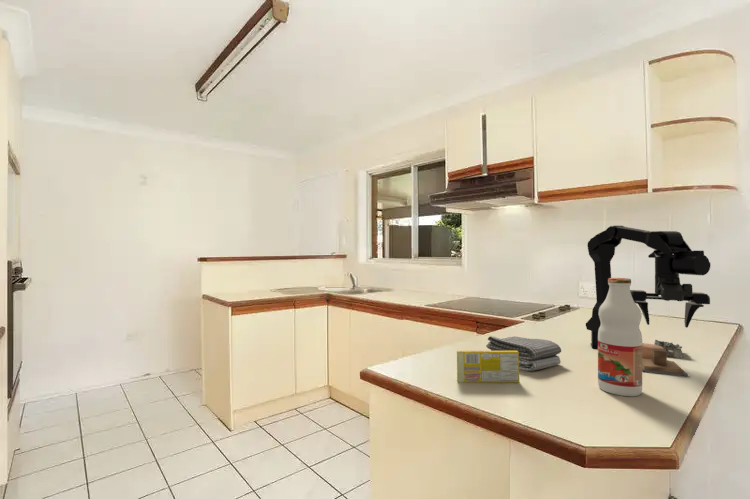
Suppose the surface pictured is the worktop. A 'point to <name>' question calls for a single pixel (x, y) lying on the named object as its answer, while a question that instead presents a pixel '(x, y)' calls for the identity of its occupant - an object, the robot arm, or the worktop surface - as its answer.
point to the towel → (528, 351)
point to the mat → (665, 372)
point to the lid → (660, 362)
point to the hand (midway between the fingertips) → (666, 325)
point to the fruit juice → (620, 341)
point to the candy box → (488, 366)
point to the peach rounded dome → (648, 350)
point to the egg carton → (670, 348)
